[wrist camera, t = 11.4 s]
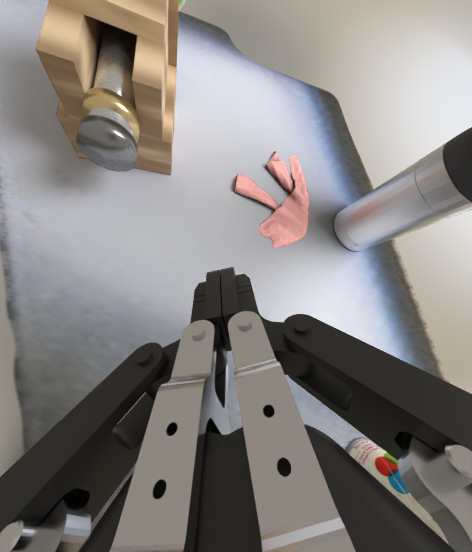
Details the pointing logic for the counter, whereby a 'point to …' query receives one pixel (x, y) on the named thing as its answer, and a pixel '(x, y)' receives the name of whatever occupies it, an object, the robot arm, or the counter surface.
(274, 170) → the cloth
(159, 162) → the bearing block
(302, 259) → the counter surface
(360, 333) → the counter surface
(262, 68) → the counter surface
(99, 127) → the shaft
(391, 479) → the aerosol can
